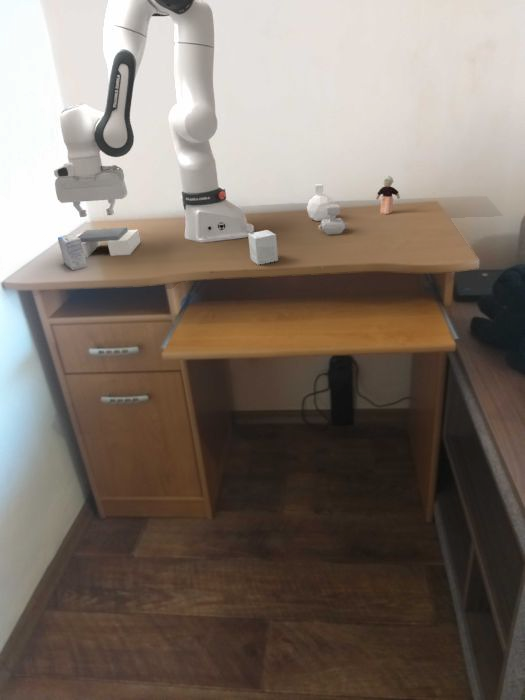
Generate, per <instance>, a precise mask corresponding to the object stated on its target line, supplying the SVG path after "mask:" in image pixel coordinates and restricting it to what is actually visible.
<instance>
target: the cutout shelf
mask: <svg viewBox="0 0 525 700" xmlns="http://www.w3.org/2000/svg"><path fill="white" fill-rule="evenodd" d="M75 236H76V237H78V238H79V239H80V240H81V244H82V247H83V251H84V255H85V258H88V257H89V256H90V255H91V254H92V253H93V252H95V250H96V249H98V247H100V246H101V242H107V246H108V251H109V255H110V256H113V257H114V256H129V255H131V254H132V253H133V252H134V251H135V249H136V248H138V245H140V243H141V238H140V233H139V229H128V227H126V226H124V227H112V228H110V227H109V228H97V229H95V228H94V229H86V230H84V231H83V232H82V233H78V234H77V235H75Z"/></svg>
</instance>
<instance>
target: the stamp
mask: <svg viewBox="0 0 525 700" xmlns="http://www.w3.org/2000/svg"><path fill="white" fill-rule="evenodd" d="M325 210H326V213H327V215H329V219H324V220H322V221H320V224H319V225H318V226H317V228H318V230H319V231H324V232H325V234H326V236H329V235H341V234H342V233H343V232H344V231H345V229H346V228H347V227H348V223H347V222H345V221H344V220H343V219H342V218H341V217H337V216H338V215H339V214H340V212H341V207H340V205H339V204H338V203H335V204H334V203H333V205H325Z"/></svg>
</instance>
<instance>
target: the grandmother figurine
mask: <svg viewBox="0 0 525 700" xmlns="http://www.w3.org/2000/svg"><path fill="white" fill-rule="evenodd" d="M382 182H383V187H381V188H380V189H379V191H377V194H376V196H375V199H376V200H379V199H380V196H381V195H382V196H381V201H380V202H381V203H380V212H379V214H380V215H381V214H382V213H384V214H382V215H390V214H389V213H391V214H392V213H393V208H394V203H393V202H394V201H393V200H394V197H393V195H395V197H396V198H397V199H400V198H401V195H400V194H399V190H397V189H396V188H395V187H393V186H392V184H393V183H394V179H393V177H392V176H390V175H385V176H384V177H383V179H382Z"/></svg>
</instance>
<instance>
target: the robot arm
mask: <svg viewBox="0 0 525 700" xmlns="http://www.w3.org/2000/svg"><path fill="white" fill-rule="evenodd" d="M213 14H214V13H213V10H212V8H211V6H210V5H209V4H208V3H207V2H205V1H204V0H108V4H107V7H106V13H105V17H104V18H105V19H104V25H103V26H104V27H103V34H102V35H103V36H102V37H103V38H102V40H103V41H102V42H103V43H102V45H103V56H104V58H105V62H106V65H107V69H108V85H107V92H106V100H105V101H106V102H105V109H104V112H102V111H99V110H97V109H94V108H92V107H90V106H89V105H87V104H85V103H80V104H76V105H71V106H69V107H66V108H65V109H63V110H62V112H61V113H60V115H59V121H60V128H61V134H62V139H63V143H64V145H65V146H66V149H67V160H68V163H65V164H63V165H62V166H59V167H57V168H56V169H54V170H53V174H54V176H55V177H56V178H55V181H54V186H55V188H54V189H55V194H56V198H57V200H58V202H60V203H61V204H65V203H72V205H73V207H74V208H75V210H77V212H78V214H79V217H80V218H86V217H87V216H88V214H87V210H86V209H83V208H82V207H81V202H95V201H96V202H97V201H107V202H108V204H109V207H108V208H107V209H106V215H107V216H113V215H114V214H115V212H114V206H115V204H116V200H122V199H125V198H126V197H127V195H128V190H127V185H126V182H125V173H124V171H123V169H122V168H121V167H119V166H118V165H116V164H113V165H103V163H102V159H101V153H100V152H102V153H103V154H105V155H106V156H108V157H111V158H113V157H114V158H120V157H124V156H125V155H127V154H128V153H129V152H130V151H131V150H132V148H133V145H134V140H135V135H134V130H133V127H132V124H131V110H132V109H131V108H132V99H133V92H134V86H135V85H134V84H135V80H136V77H137V73H138V71H139V69H140V66H141V62H142V60H143V56H144V52H145V48H146V43H147V38H148V30H149V24H150V22H151V19H152V17H168V16H169V17H170V18H171V20H172V23H173V28H174V29H173V30H174V35H173V36H174V39H173V40H174V41H173V42H174V43H173V45H174V46H173V80H174V84H175V85H174V86H175V93H176V96H175V97H176V104H174V105H173V107H172V108H171V110H170V111H169V113H168V125H169V129H170V135H171V139H172V142H173V147H174V152H175V155H176V158H177V162H178V169H179V174H180V181H181V186H182V188H181V189H182V191H181V199H182V206H183V209H184V213H185V216H184V217H185V226H184V227H185V228H184V229H185V230H184V235H183V236H184V239H186V240H189V241H194V242H197V243H202V244H203V243H210V242H218V241H226V240H227V241H229V240H235V239H244V238H248V234H249V233H254V232H255V226H254V225H253V224H251V223H248V222H247V221H248V220H247V217H246V213H245V212H244V210H242V209H241V208H240V207H238V206H237V205H236V204H233V203H232V202H231V201H229V200H227V193H226V188H221V187H219V181H218V180H219V179H218V171H217V164H216V159H215V157H214V154H213V150H212V148H211V144H210V139H212V138H213V137H214V136H215V134H216V133H217V130H218V117H217V114H216V102H215V101H216V100H215V91H214V90H215V89H214V59H215V58H214V56H215V23H214V16H213Z"/></svg>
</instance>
